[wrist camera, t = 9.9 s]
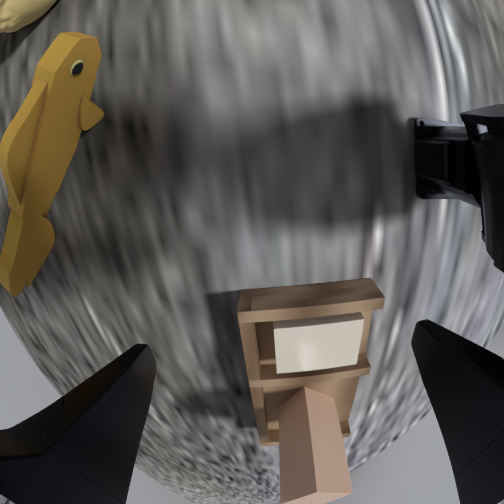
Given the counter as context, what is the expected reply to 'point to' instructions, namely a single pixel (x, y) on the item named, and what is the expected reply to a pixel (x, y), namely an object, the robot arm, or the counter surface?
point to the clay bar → (311, 450)
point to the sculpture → (21, 13)
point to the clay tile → (317, 342)
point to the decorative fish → (44, 151)
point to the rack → (287, 384)
